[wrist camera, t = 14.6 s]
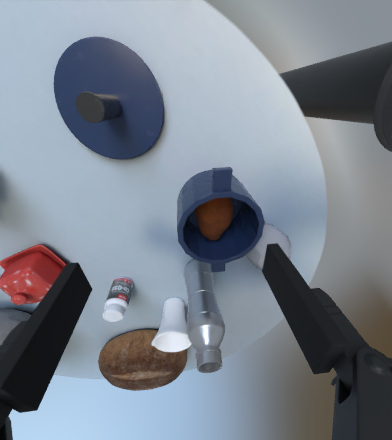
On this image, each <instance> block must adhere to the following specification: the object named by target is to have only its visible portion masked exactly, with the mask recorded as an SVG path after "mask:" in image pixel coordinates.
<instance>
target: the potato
mask: <svg viewBox="0 0 392 440" xmlns="http://www.w3.org/2000/svg"><path fill="white" fill-rule="evenodd" d="M195 215H196V219H197V223H198V226H199V229H200V232H201V233H202V234H203V235H204V236H205V237H206V238H208V239H210V240H217V239H219V238H220V236H221V235H222V234H223V232H224V231H225V230H226V229H227V228H228V227H229V225H230V224H231V222H232V220H233V203H232V201H231V198H230V197H229V198H214V199H212V200H210V201H208V202H205V203H203V204H201V205H199V206H198V207H197V208H196V209H195Z"/></svg>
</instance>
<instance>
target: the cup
mask: <svg viewBox="0 0 392 440" xmlns="http://www.w3.org/2000/svg"><path fill="white" fill-rule="evenodd" d="M186 331H187V323H186V319H185V311H184V302H183V301H182V300H181V299H179V298H169V299H167V300H166V301H165V302H164V305H163V316H162V321H161V324H160V327H159V330H158V332H157V334H156V336H155V338H154V339H153V341H152V343H151V344H152V346H155V347H156V348H157V349H158V350H161V351H164V352H179V351H182V350H185V349H187V348H188V347H190V346H191V344H192V343H191V342H190V340H189V338H188V335H187V332H186Z"/></svg>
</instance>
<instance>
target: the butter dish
mask: <svg viewBox="0 0 392 440" xmlns="http://www.w3.org/2000/svg"><path fill="white" fill-rule="evenodd" d="M0 266H1V267H2V268H3V269H5V271H4V273H3V274H2V276H1V277H0V288H1V289H2V290H3V291H4V292H5V293H7V294H8V295H9V296H11V302H12V303H14V304H17V305H22V304H25V303H26V304H33V303H37V302H40V301H42V299H43V298H44V296H45V295H46V293H47V292H48V290H49V289H50V287H51V286H52V285H53V283H54V282H55V280H56V279H57V277H58V276H59V274H60V273H61V271H62V270H63V268H64V267H65V266H66V263H65V262H64V261H62V260H61V259H60V258H59V257H58V256H57V255H55V254H54V253H53V252H52V251H51V250H49V249H48V248H47V247H45V246H43V245H35V246H33V247H30V248H28V249H26V250H23V251H21V252H19V253H17V254H14V255H12V256H10V257H8V258H5V259H3V260H2V261H0Z"/></svg>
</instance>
